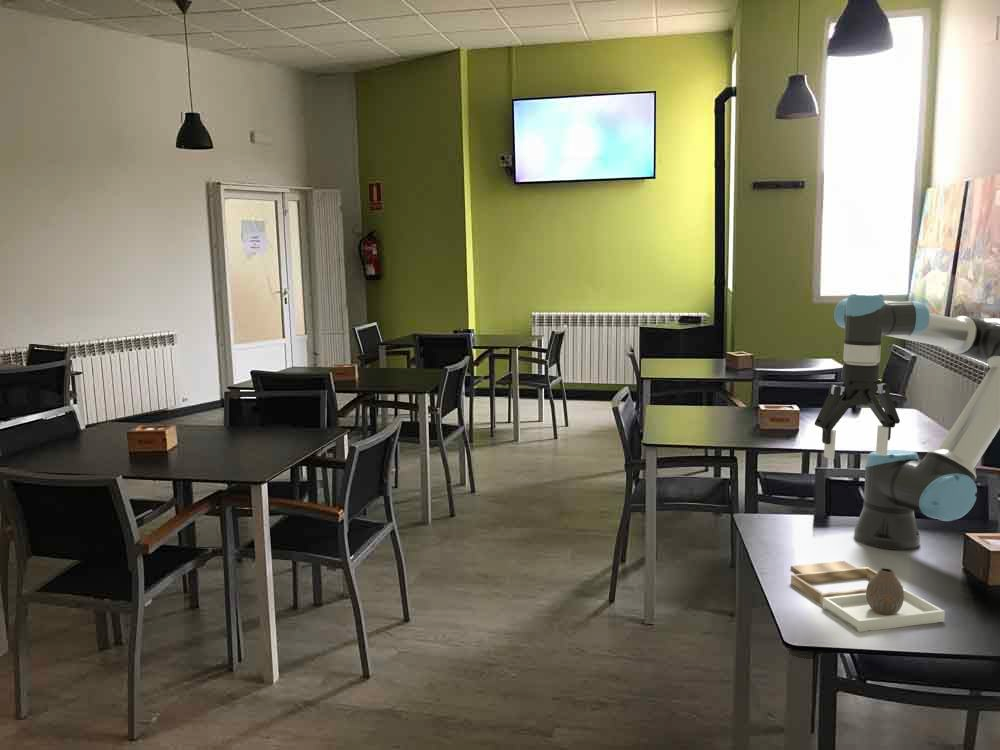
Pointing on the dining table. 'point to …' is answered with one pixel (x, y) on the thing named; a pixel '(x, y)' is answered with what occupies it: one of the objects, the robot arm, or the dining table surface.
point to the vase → (885, 593)
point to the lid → (821, 567)
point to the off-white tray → (864, 618)
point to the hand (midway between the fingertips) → (855, 456)
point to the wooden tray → (805, 578)
